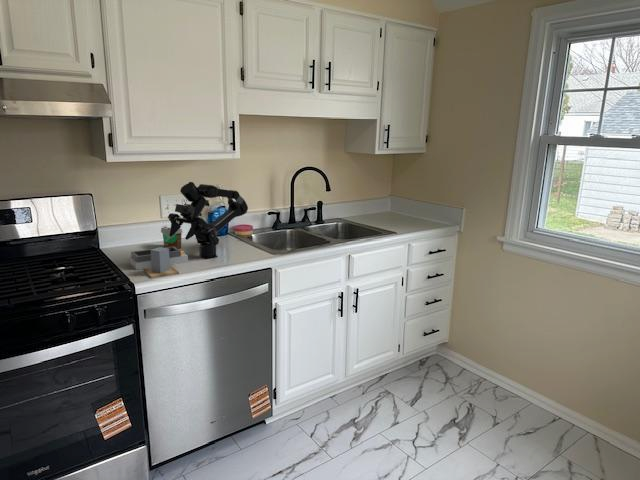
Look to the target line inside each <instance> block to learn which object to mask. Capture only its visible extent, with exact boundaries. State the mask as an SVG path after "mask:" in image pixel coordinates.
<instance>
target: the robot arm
mask: <svg viewBox="0 0 640 480" xmlns="http://www.w3.org/2000/svg"><path fill="white" fill-rule="evenodd" d="M180 193H181V195H182V196H183V197H184V198H185V199H186V200H187V201H188V202H191V203H190V204H189V203H187V204H186V205H184V204H178V203H177V204H176V205H175V209H174V212H175V213H173V212H172V213H169V214H168V216H167V219H168V220H169V222H170V228H171V229H170V234H169V236H170V237H172V236H173V235H174V234H175V233H176V232H177V231H178V230H179V229H182V225H183V224H189V225H190V228H189V229H188V231H187V234H186V235H185V240H186V241H187V240H189V239H191V238H192V237H194V236H195V240H196V242H197V244H199V257H201V258H203V259H204V260H206V259H212V258H213V259H214V258H218V257H219V256H218V255H217V245H219V242H220V239H219V238H218V236H217V234H218V232H219V231H221V230H222V229H223V228H224V227H225V226H226V225H228V224H229V223H230V222H231V221H233V220H234V219H235V218H238V217H241V216H244V215H245V214H247V212H248V210H249V206H248V204H247V202H246V200H245V199H244V198H243V197H242V196H241V195H240V193H239V191H237V190H232V189H229V190H228V189H223V188H218V187H217V186H215V185H213V184H203V183H200V184H199V185H198V186H197V185H196V184H195V183H194V182H193V181H189V182H188V183H186V184H183V186H182V187H180ZM206 198H208V199H214V198H227V205H228V208H227V210H226V211H225V212H224V213H222V214H221V215H219V216H218V217H217V218H216V219H214V220H213V221H212V222H210V223H208V222H206V220H205V219H204V218H203V217H202V216H203V214H202V212H203V210H204V209H205V207H210V206H211V205H210V201H209V200H208V199H206ZM176 212H177V213H176ZM178 213H179V214H178Z"/></svg>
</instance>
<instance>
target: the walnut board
mask: <svg viewBox="0 0 640 480" xmlns="http://www.w3.org/2000/svg"><path fill="white" fill-rule="evenodd" d="M142 270H143V272H144V273H145V274H146V275H147V276H148V277H149V278H151V279H155V278H162V277H166V276H167V277H168V276H173V275H179V274H180V271H178V270H177V269H176V268H174V267H173V266H172V265H170V270H168V271H165V272H162V273H158V272H154V271H152V268H145V269H142Z"/></svg>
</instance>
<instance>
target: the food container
mask: <svg viewBox="0 0 640 480" xmlns="http://www.w3.org/2000/svg"><path fill="white" fill-rule="evenodd" d="M170 229H171V227H167V225H162V227H161V229H160V233H162V238H163V245H164V247H163V248H165V247H173V246H174V247H176V248H177V249H179V248H180V249H182V234H183V229H182V228H180V229H179V230H178V231H177V232H176V233H175V234H174V235H173V236H172V237H170V236H169V234H170ZM180 249H179V250H180Z"/></svg>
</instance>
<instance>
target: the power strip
mask: <svg viewBox="0 0 640 480" xmlns="http://www.w3.org/2000/svg"><path fill="white" fill-rule="evenodd" d="M164 248H167V249H169V260H170V265H171V266H172V265H176V264H183V263H188V262H189V256H188V254H186V253H185V251H184V250H182V249H181V250H180V249H177V248H176V247H174V246H173V247H164ZM130 254H131V255H130V256H131V257H130V265H131V266H132V267H133V268H134V269H135V270H136V271H138V270H143V269H147V268H152V266H151V249H143V250H135V251H130Z"/></svg>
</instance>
